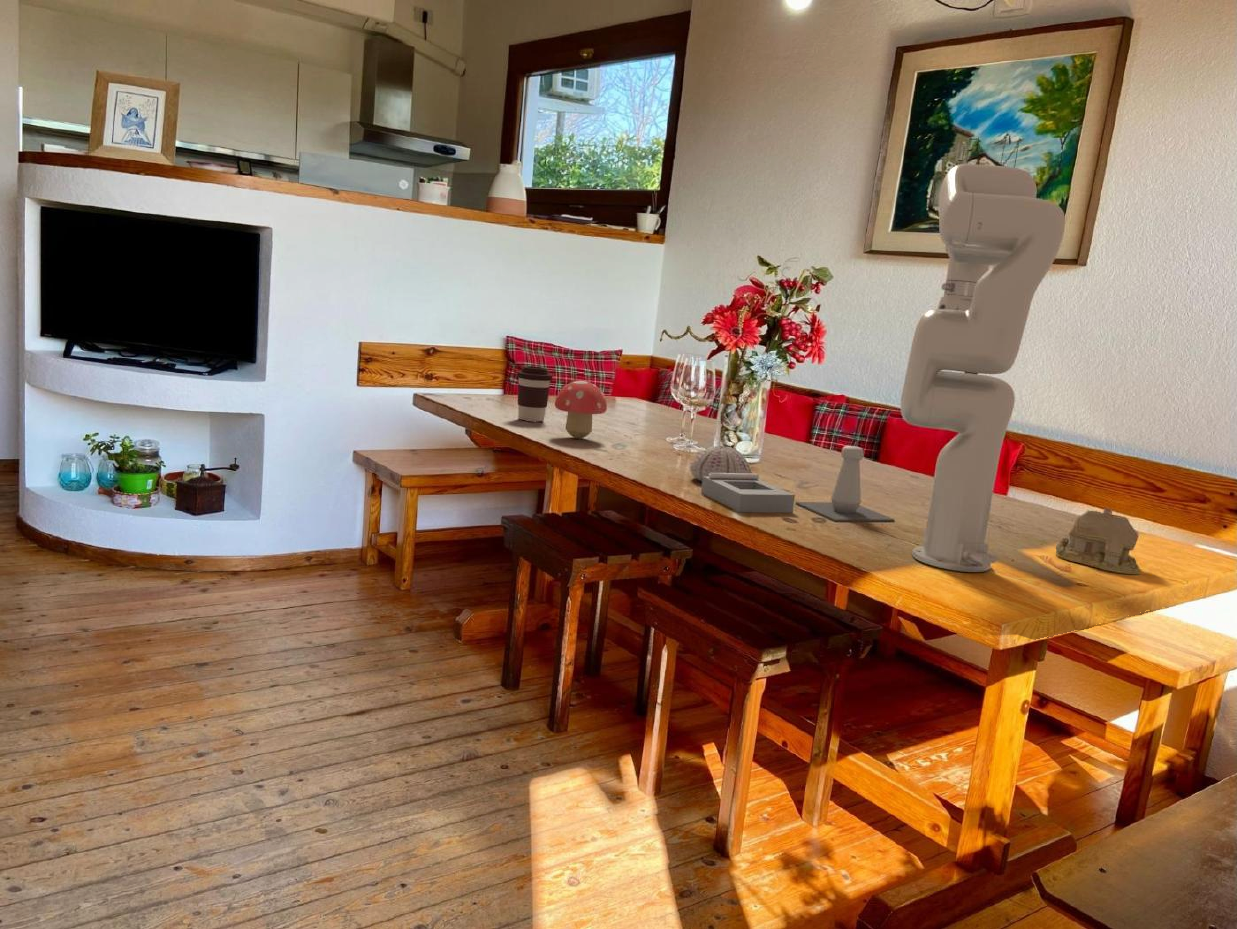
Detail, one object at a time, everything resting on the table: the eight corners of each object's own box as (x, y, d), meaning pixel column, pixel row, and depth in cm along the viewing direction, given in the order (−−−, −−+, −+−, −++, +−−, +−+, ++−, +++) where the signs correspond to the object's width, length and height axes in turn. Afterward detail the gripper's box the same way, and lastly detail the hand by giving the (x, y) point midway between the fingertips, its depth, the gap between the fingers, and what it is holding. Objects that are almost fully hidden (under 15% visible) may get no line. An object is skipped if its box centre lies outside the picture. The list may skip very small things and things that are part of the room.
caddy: (792, 512, 196) (795, 488, 195) (738, 512, 191) (741, 488, 190) (752, 493, 210) (754, 471, 209) (701, 492, 206) (703, 470, 205)
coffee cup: (555, 422, 284) (560, 369, 282) (534, 424, 276) (539, 370, 273) (527, 416, 289) (531, 364, 287) (506, 418, 281) (510, 365, 278)
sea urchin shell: (736, 477, 228) (740, 442, 226) (759, 490, 215) (763, 454, 213) (680, 474, 224) (684, 439, 223) (700, 488, 211) (705, 450, 210)
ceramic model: (1143, 567, 180) (1154, 512, 179) (1137, 579, 171) (1148, 522, 169) (1059, 549, 187) (1069, 497, 186) (1049, 560, 178) (1059, 505, 176)
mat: (894, 521, 197) (894, 519, 197) (834, 521, 191) (834, 519, 191) (852, 504, 209) (852, 502, 209) (795, 504, 204) (795, 502, 204)
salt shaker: (859, 515, 197) (868, 450, 195) (829, 511, 198) (838, 446, 196) (858, 509, 202) (867, 446, 200) (829, 505, 204) (838, 442, 201)
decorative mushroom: (541, 434, 259) (546, 377, 257) (580, 433, 268) (586, 377, 266) (574, 444, 250) (579, 384, 247) (614, 442, 259) (620, 384, 256)
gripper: (942, 288, 189) (928, 379, 192) (1012, 296, 196) (998, 383, 199) (916, 286, 196) (903, 374, 199) (985, 294, 202) (971, 378, 205)
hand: (950, 378), depth 199 cm, fingers open, 9 cm apart
